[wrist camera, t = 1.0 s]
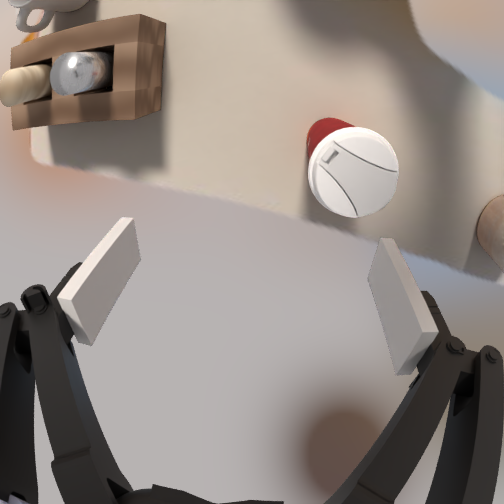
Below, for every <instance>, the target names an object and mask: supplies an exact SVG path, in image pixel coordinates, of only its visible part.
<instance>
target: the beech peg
mask: <svg viewBox="0 0 504 504" xmlns="http://www.w3.org/2000/svg"><path fill="white" fill-rule="evenodd" d="M51 68H52V63H50V64H41V65H34V66H27V67H21V68H15V69H10V70H8V71H6V72H5V73H4V75H3V76H2V78H1V81H0V100H1V102H2V104H3V105H4V106H7V107H11V106H14V105H17V104H20V103H24V102H27V101H30V100H34V99H38V98H41V97H45V96H49V95H52V86H51V83H50V72H51Z"/></svg>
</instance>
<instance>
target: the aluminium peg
mask: <svg viewBox="0 0 504 504" xmlns="http://www.w3.org/2000/svg"><path fill="white" fill-rule="evenodd" d="M113 66H114V53H112V52H68V53H64V54H62V55H61V56H59V57H58V58H57V59H56V61H55V62H54V64H53V66H52V68H51V72H50V83H51V86H52V88H53V90H54V91H55V92H56V93H57V94H59V95H62V96H66V95H70V94H75V93H79V92H84V91H89V90H94V89H99V88H104V87H109V86H111V85H113Z"/></svg>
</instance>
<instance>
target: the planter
mask: <svg viewBox="0 0 504 504" xmlns="http://www.w3.org/2000/svg"><path fill="white" fill-rule="evenodd" d="M477 237H478V241H479V243H480V245H481V246H482V248H483V249H484V250H485V251H486V252H487V253H488V255H489V256H490V257H491V258H492V259H493V260H494V261H495V263H496V264H497V265H498V266H499V268H500V269H501V270H502V271H503V273H504V195H500V196H498V197H496V198H494V199H493V200H492V201H491V202H490V203H489V204H488V205H487V206H486V208H485V209H484V211H483V212H482V214H481V216H480V219H479V222H478V227H477Z"/></svg>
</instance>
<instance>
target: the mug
mask: <svg viewBox="0 0 504 504" xmlns="http://www.w3.org/2000/svg"><path fill="white" fill-rule="evenodd" d="M8 1H9V3H10V4H11V6H13V7H16V8H20V11H19V14H18V17H17V21H16V26H17V28H18V29H19V30H20V31H23V32H29V33H31V32H38V31H41V30H43V29H45V28H46V27H47V26H48V25H49V23H50V21H51V20H52V18H53V16H54V14H55V12H56V11H61V12H71V11H74V10H77V9H79V8H81V7H82V6H84V5H85V4H86V3H87V2H88V1H89V0H8ZM33 9H43V10H44V16H43V18H42V20H41V21H40V23H39V24H37V25H35V26H28V25H27V24H26V21H27V17H28V16H29V14H30V12H31V11H32V10H33Z"/></svg>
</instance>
